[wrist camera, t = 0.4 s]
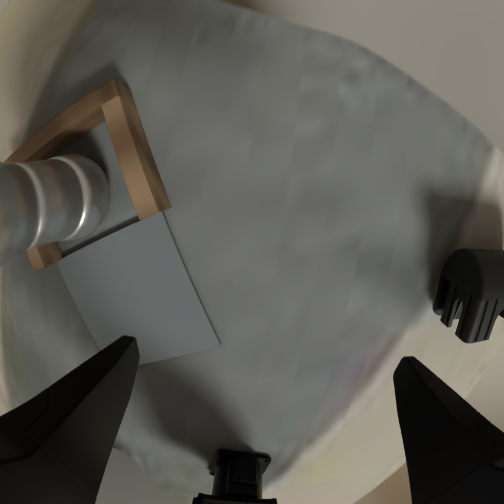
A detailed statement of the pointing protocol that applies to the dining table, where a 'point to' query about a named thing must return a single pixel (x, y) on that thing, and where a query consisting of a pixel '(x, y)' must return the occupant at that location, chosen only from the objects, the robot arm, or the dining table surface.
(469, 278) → the end cap
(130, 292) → the felt coaster
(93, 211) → the plastic bottle
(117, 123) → the walnut collar
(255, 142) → the dining table surface
